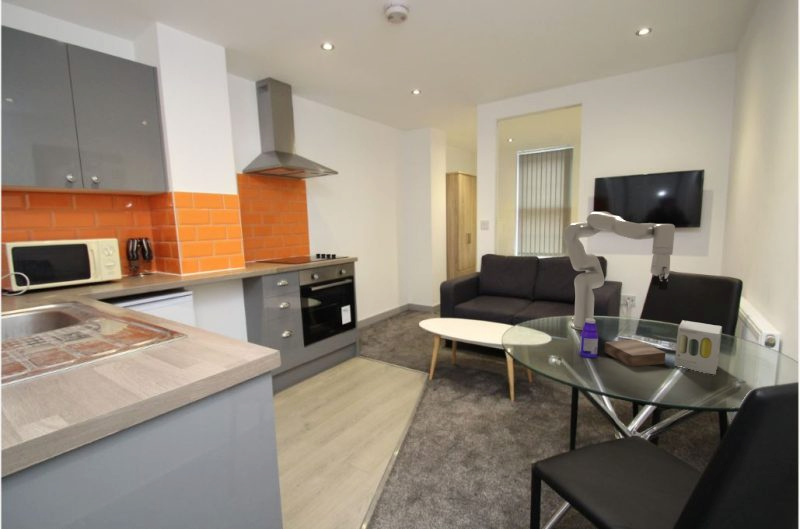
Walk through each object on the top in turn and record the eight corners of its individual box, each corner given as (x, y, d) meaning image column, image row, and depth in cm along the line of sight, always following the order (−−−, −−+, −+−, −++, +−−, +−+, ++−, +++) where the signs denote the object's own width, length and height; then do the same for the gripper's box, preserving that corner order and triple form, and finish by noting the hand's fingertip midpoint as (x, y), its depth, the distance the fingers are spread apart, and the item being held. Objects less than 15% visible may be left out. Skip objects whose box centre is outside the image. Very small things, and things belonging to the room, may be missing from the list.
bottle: (593, 353, 164) (595, 317, 161) (599, 358, 158) (601, 321, 155) (577, 353, 164) (579, 317, 162) (582, 358, 159) (584, 321, 156)
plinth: (604, 352, 165) (605, 342, 164) (634, 349, 167) (635, 339, 166) (631, 366, 149) (632, 355, 148) (664, 363, 151) (665, 352, 151)
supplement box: (673, 366, 148) (677, 326, 146) (678, 357, 157) (682, 319, 155) (715, 376, 139) (720, 334, 136) (718, 365, 148) (722, 326, 145)
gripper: (647, 248, 170) (644, 283, 173) (658, 252, 154) (655, 290, 157) (665, 249, 167) (662, 284, 170) (679, 253, 151) (675, 291, 154)
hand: (659, 287), depth 163 cm, fingers open, 9 cm apart
